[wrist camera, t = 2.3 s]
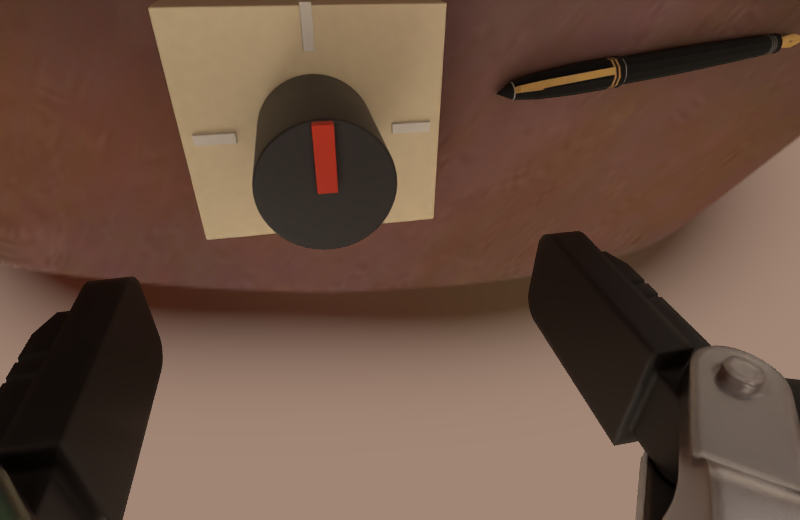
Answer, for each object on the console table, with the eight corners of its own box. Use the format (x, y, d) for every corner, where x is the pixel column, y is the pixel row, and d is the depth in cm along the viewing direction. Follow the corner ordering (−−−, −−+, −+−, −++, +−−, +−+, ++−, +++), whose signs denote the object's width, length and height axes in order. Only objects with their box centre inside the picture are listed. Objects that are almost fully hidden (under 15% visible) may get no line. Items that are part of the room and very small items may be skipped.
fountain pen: (801, 19, 21) (833, 26, 20) (791, 48, 22) (821, 55, 21) (490, 74, 20) (504, 84, 19) (490, 103, 21) (503, 114, 19)
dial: (373, 180, 19) (399, 248, 15) (266, 188, 18) (263, 263, 14) (371, 71, 16) (401, 118, 12) (247, 75, 16) (239, 127, 12)
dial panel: (213, 211, 21) (206, 245, 19) (162, -8, 16) (145, 3, 14) (419, 193, 22) (434, 223, 20) (427, -11, 18) (448, 0, 15)
